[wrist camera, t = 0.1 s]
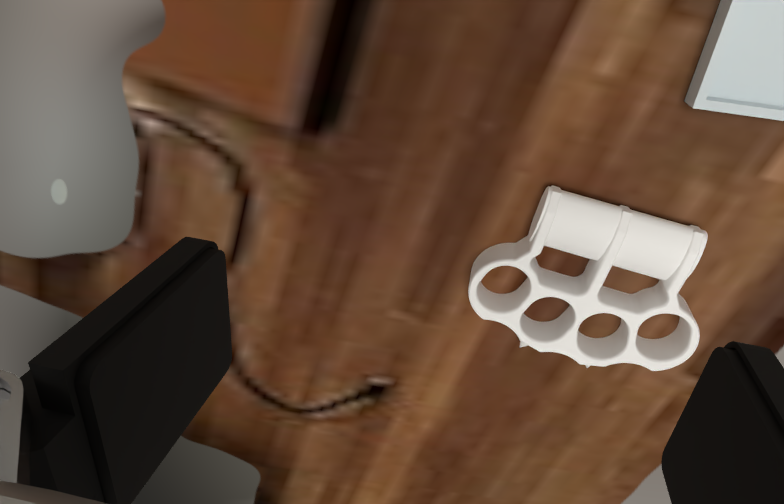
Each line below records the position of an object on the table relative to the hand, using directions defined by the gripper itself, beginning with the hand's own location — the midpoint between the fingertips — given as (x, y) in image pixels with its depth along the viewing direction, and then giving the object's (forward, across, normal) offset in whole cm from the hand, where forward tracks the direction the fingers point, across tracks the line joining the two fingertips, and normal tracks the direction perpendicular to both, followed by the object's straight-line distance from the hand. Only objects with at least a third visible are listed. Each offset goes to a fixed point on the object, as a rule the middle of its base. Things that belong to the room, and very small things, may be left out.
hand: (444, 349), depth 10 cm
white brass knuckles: (+32, -10, +15) cm, 37 cm away
